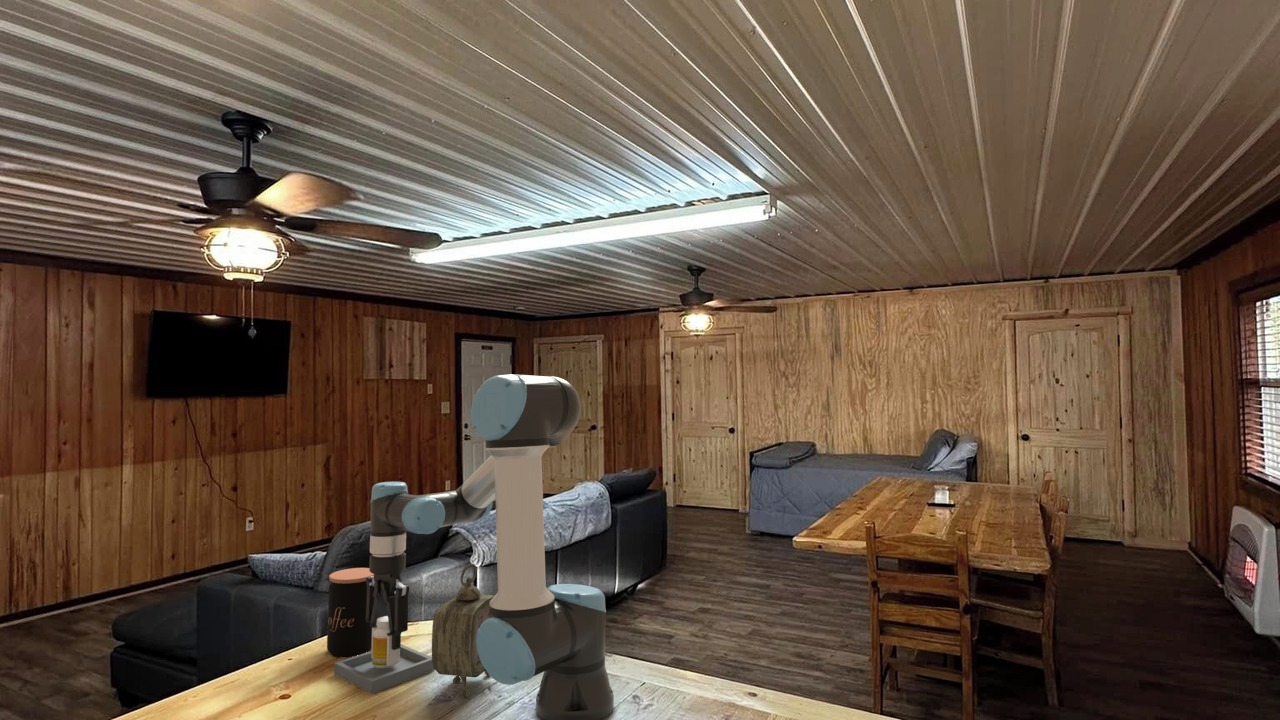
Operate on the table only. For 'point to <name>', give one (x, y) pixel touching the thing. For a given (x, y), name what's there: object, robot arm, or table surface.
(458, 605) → the tabletop clock
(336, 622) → the coffee jar
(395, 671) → the tray
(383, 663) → the supplement bottle
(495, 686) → the table surface
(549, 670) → the robot arm
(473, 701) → the table surface
